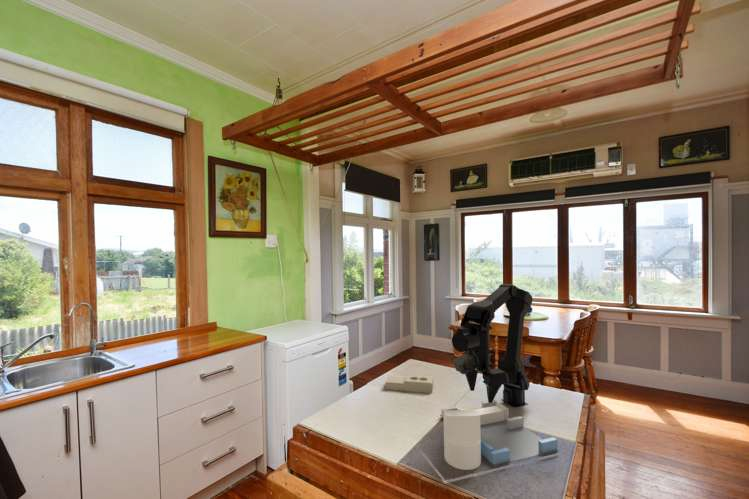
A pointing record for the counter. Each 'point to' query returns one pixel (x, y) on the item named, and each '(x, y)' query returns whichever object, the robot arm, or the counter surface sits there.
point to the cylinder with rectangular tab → (462, 438)
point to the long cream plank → (493, 414)
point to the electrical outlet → (410, 383)
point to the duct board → (510, 440)
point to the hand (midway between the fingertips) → (480, 396)
